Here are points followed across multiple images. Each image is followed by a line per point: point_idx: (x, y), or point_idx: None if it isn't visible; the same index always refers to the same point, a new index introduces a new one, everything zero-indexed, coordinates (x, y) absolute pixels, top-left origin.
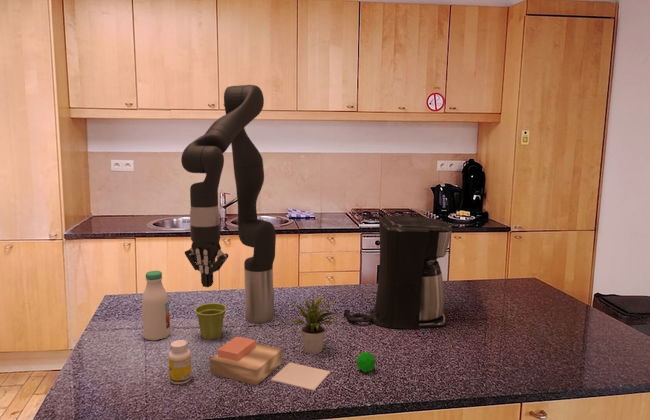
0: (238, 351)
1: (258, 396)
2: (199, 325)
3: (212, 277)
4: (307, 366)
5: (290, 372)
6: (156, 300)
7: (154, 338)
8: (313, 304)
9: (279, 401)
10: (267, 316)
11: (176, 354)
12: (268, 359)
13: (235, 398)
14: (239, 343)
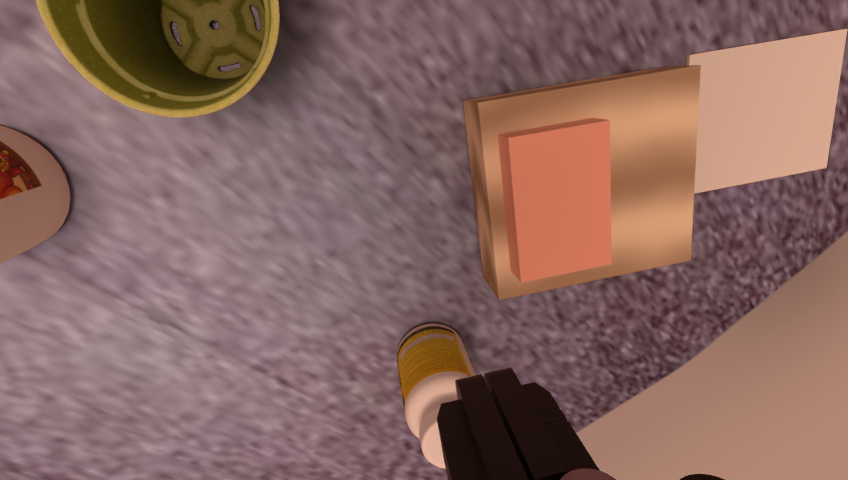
0: (604, 246)
1: (688, 282)
2: (169, 79)
3: (576, 444)
4: (761, 44)
5: (721, 119)
6: None
7: (53, 233)
8: None
9: (750, 267)
10: None
11: None
12: (691, 175)
13: (636, 325)
14: (564, 189)
